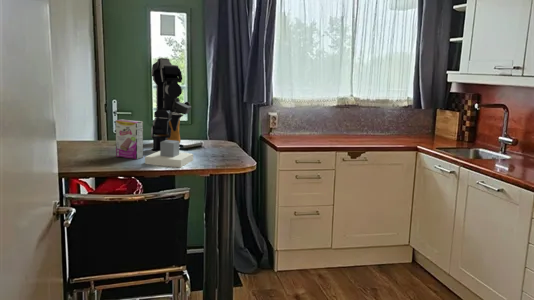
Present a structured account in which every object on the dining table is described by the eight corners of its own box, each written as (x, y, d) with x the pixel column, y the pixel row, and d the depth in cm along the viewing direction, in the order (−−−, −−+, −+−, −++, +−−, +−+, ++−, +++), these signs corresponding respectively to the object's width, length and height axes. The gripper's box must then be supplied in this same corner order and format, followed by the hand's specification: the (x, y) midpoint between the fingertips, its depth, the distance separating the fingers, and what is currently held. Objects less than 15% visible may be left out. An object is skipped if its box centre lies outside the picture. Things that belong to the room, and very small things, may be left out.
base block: (145, 163, 196) (145, 156, 196) (159, 157, 210) (159, 150, 209) (180, 167, 193) (180, 160, 192) (193, 160, 206) (193, 153, 206)
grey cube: (160, 156, 198) (160, 142, 197) (166, 153, 204) (166, 139, 203) (173, 157, 197) (173, 143, 196) (179, 154, 203) (179, 140, 202)
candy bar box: (115, 157, 207) (114, 120, 203) (122, 155, 211) (121, 119, 208) (137, 159, 203) (136, 122, 200) (143, 157, 208) (143, 121, 205)
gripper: (179, 98, 185) (179, 137, 188) (196, 95, 203) (196, 130, 206) (153, 96, 188) (153, 135, 191) (172, 93, 206) (172, 128, 209)
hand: (170, 132), depth 199 cm, fingers open, 9 cm apart
